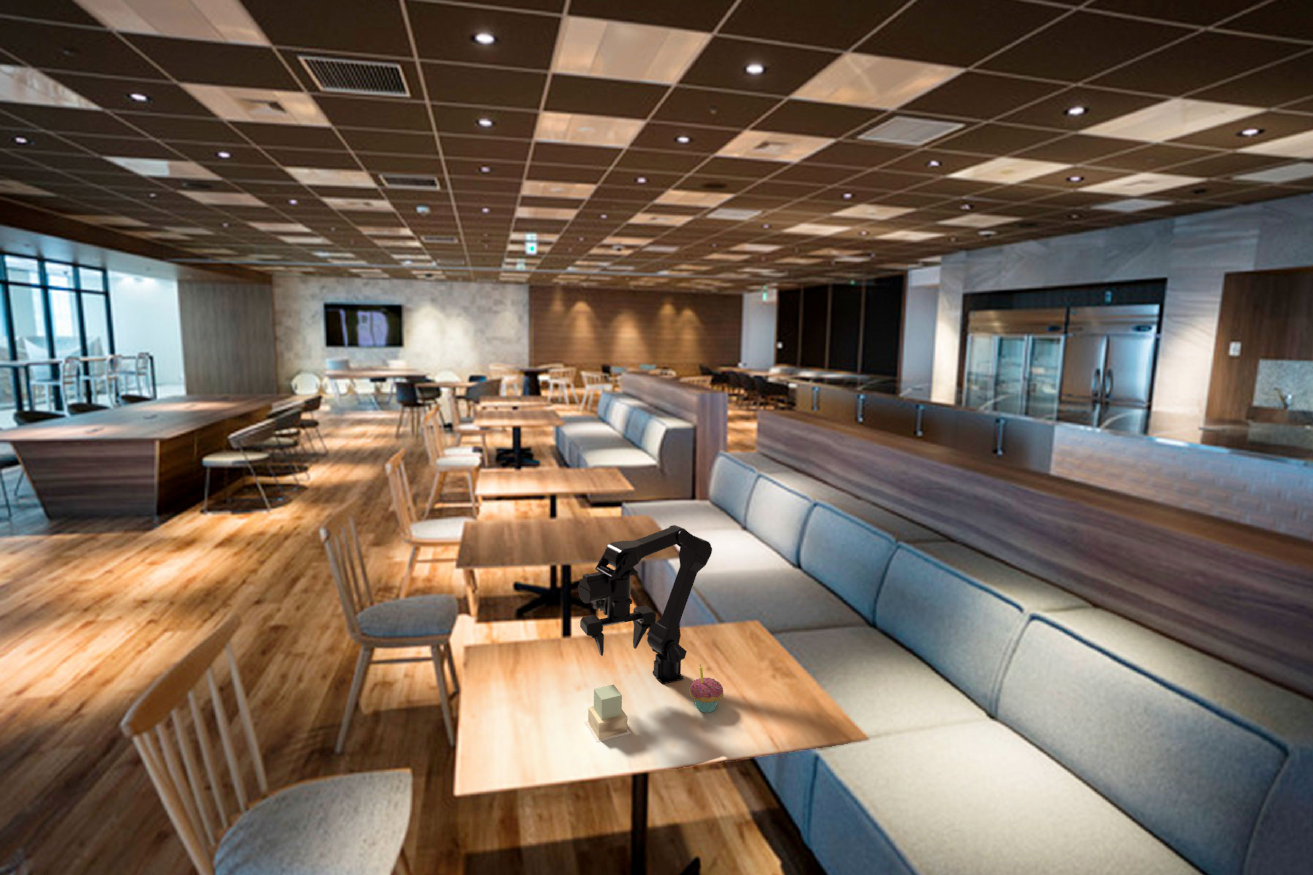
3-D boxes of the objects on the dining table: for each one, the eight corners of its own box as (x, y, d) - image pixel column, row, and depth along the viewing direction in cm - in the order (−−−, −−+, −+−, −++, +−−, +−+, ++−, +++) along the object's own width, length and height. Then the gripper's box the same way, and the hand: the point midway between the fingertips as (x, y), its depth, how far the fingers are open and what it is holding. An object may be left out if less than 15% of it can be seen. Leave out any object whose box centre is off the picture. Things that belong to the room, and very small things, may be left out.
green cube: (613, 703, 158) (613, 684, 157) (621, 714, 154) (621, 694, 153) (593, 708, 156) (593, 688, 155) (601, 719, 152) (601, 699, 151)
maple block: (615, 716, 160) (615, 700, 160) (627, 731, 154) (627, 716, 153) (588, 722, 157) (588, 707, 157) (598, 739, 151) (598, 723, 150)
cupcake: (699, 720, 160) (701, 674, 158) (682, 702, 168) (683, 658, 166) (729, 711, 164) (731, 666, 162) (711, 694, 172) (712, 651, 170)
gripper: (639, 576, 177) (638, 631, 180) (572, 587, 169) (572, 644, 172) (657, 591, 167) (656, 649, 170) (588, 604, 159) (587, 664, 162)
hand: (618, 651), depth 169 cm, fingers open, 9 cm apart
